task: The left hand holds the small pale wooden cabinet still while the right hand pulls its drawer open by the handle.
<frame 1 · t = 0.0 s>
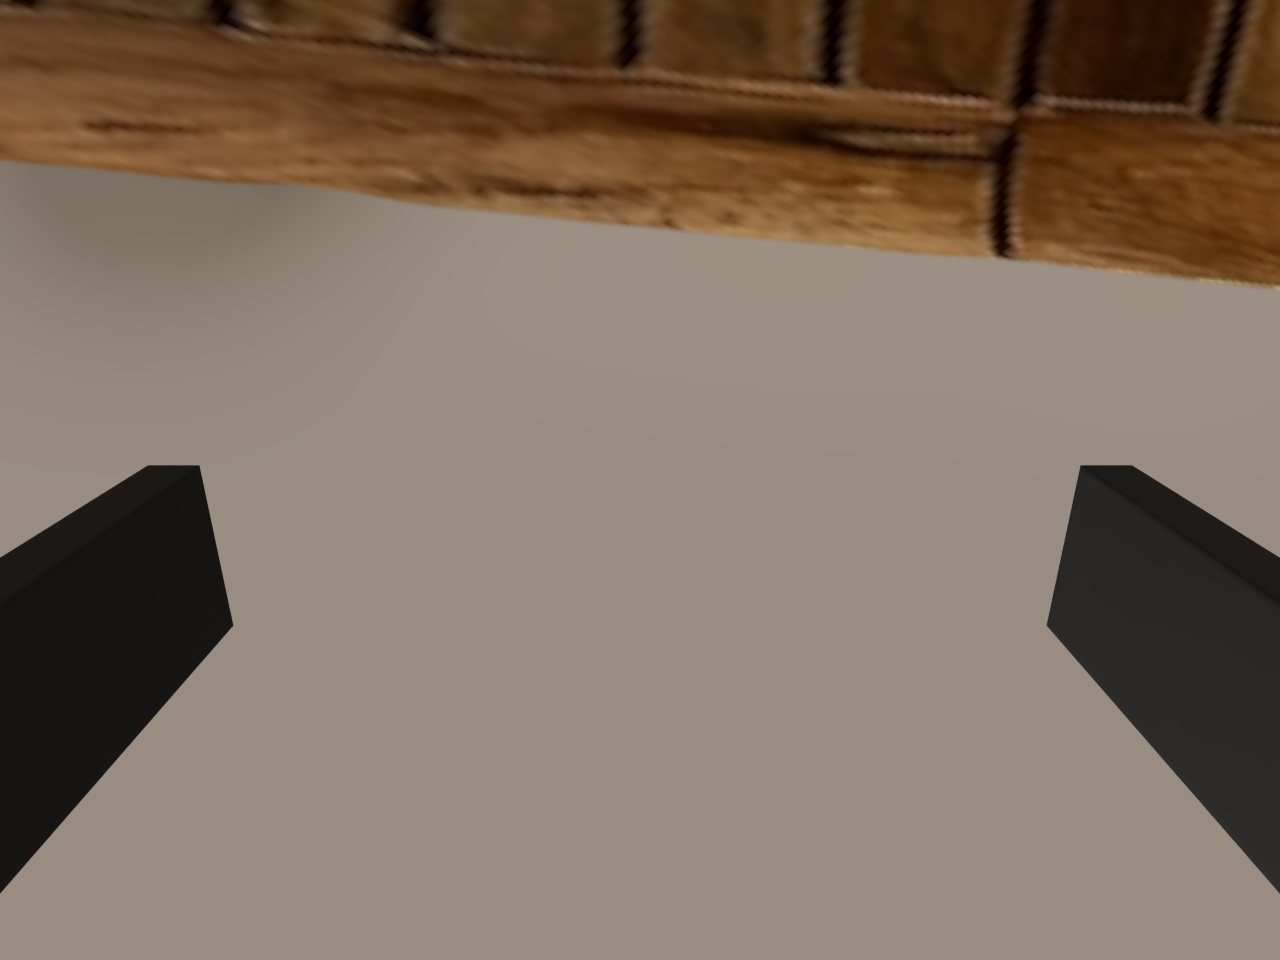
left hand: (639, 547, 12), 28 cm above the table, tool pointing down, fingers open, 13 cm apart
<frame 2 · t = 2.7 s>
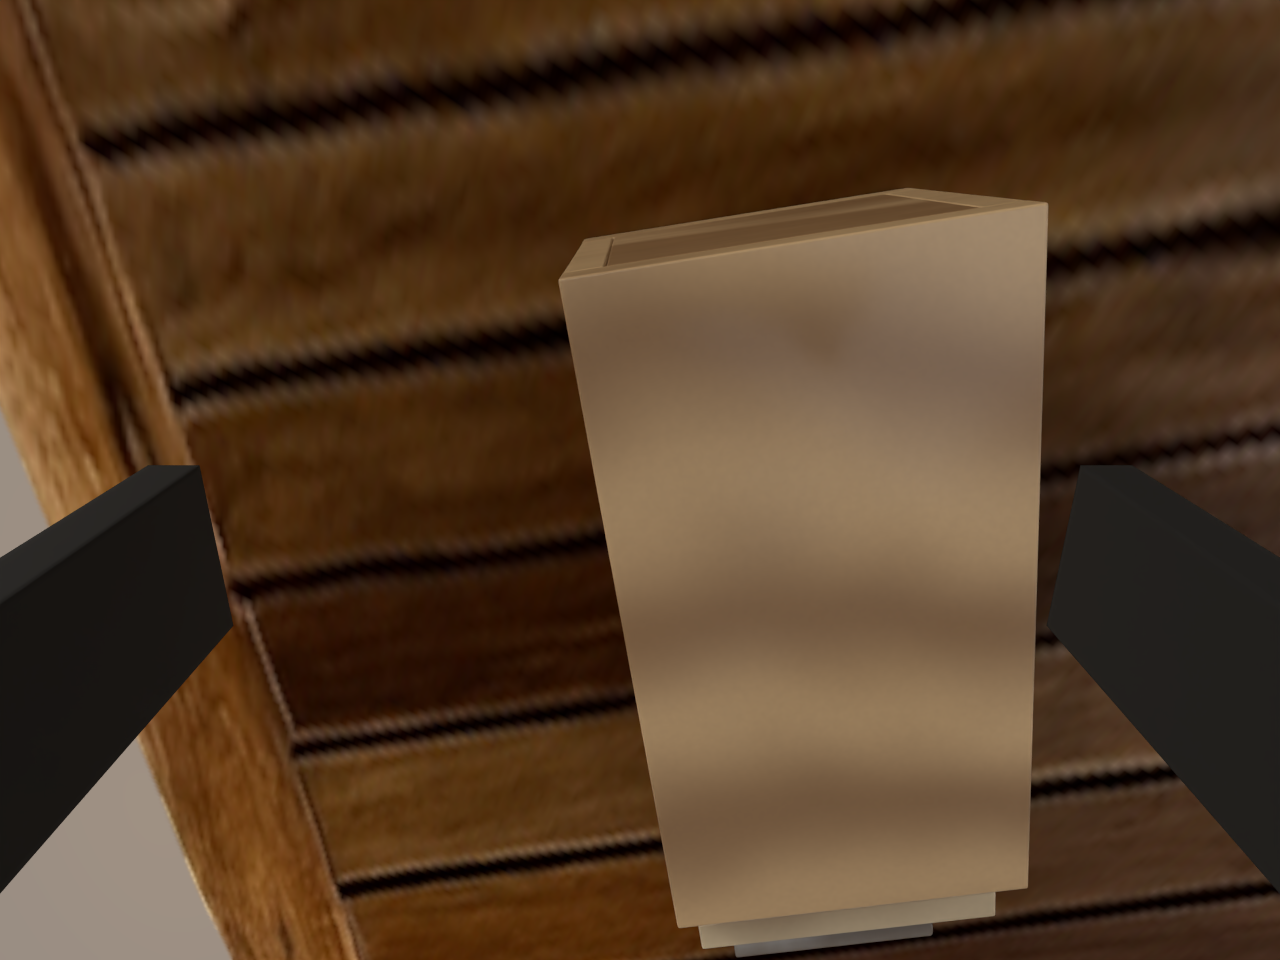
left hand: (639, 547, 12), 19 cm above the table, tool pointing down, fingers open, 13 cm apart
cabinet: (772, 491, 33), on the table
drawer: (809, 693, 30), point 5 cm above the table, slide at 1.2 cm
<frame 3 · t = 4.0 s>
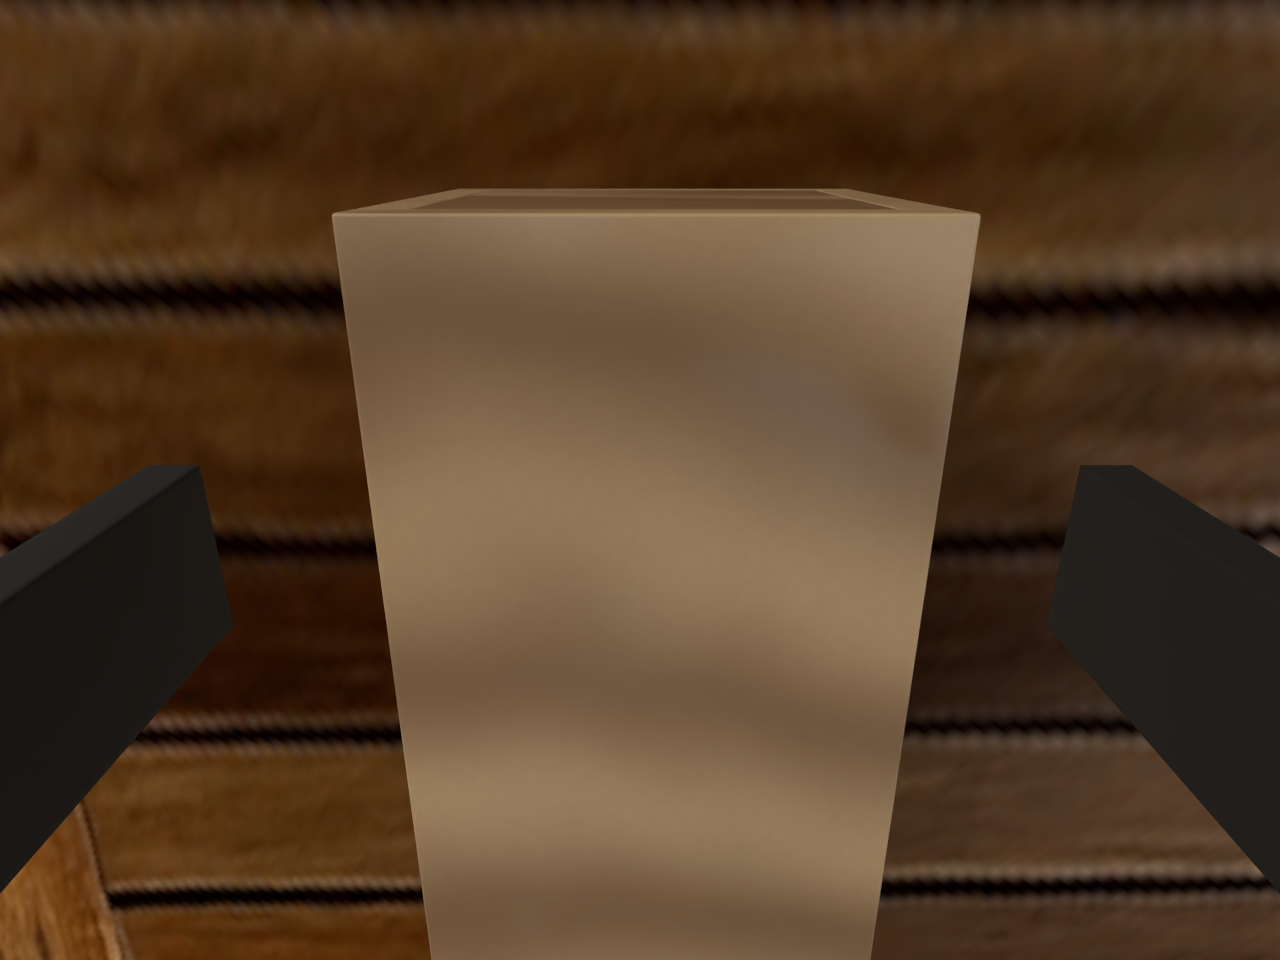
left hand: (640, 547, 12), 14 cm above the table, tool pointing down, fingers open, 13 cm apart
cabinet: (650, 519, 28), on the table
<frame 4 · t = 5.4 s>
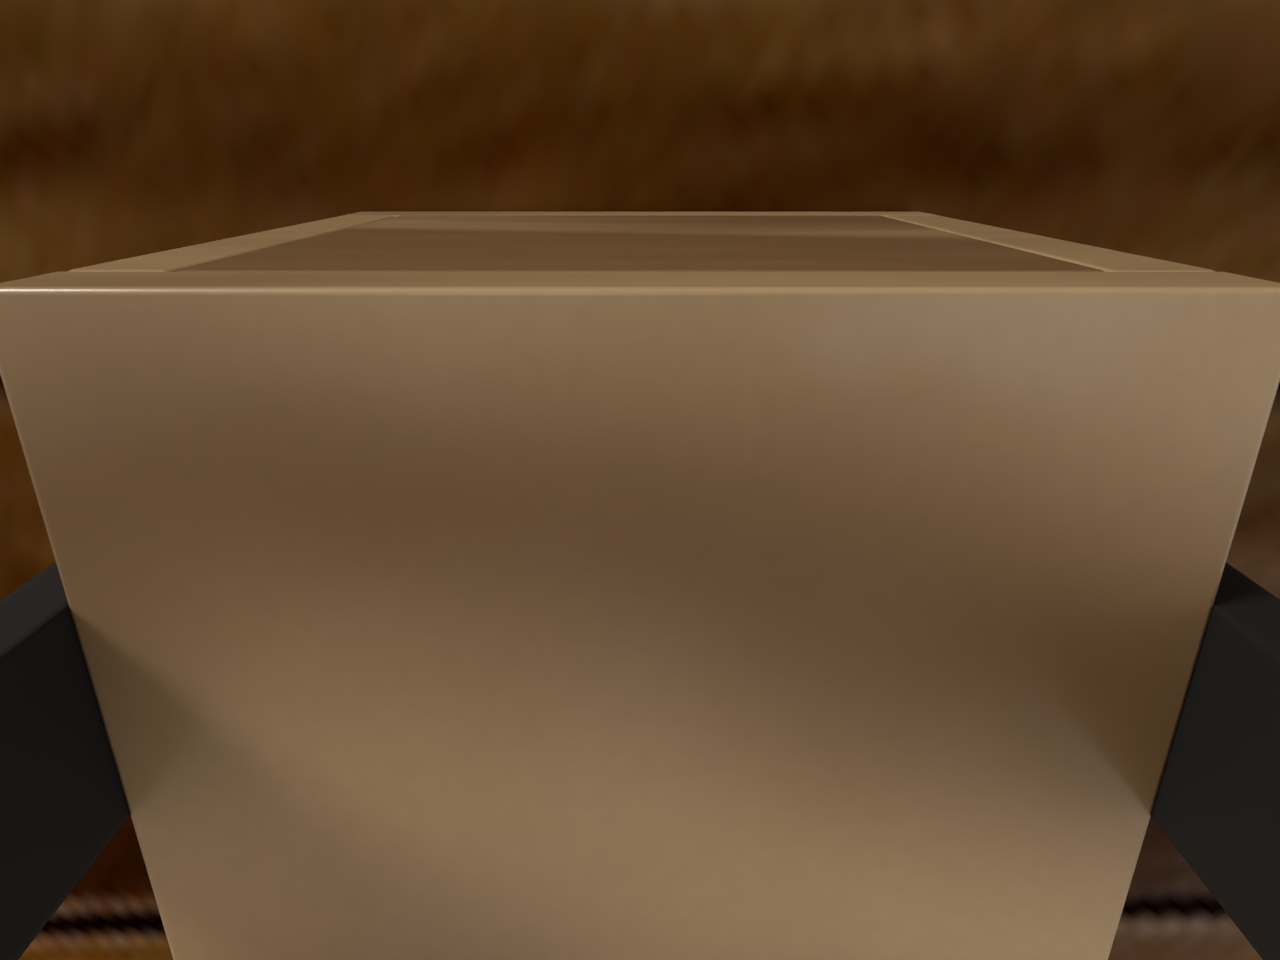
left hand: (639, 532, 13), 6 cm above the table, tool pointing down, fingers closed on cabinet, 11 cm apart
cabinet: (640, 656, 21), on the table, touching left hand
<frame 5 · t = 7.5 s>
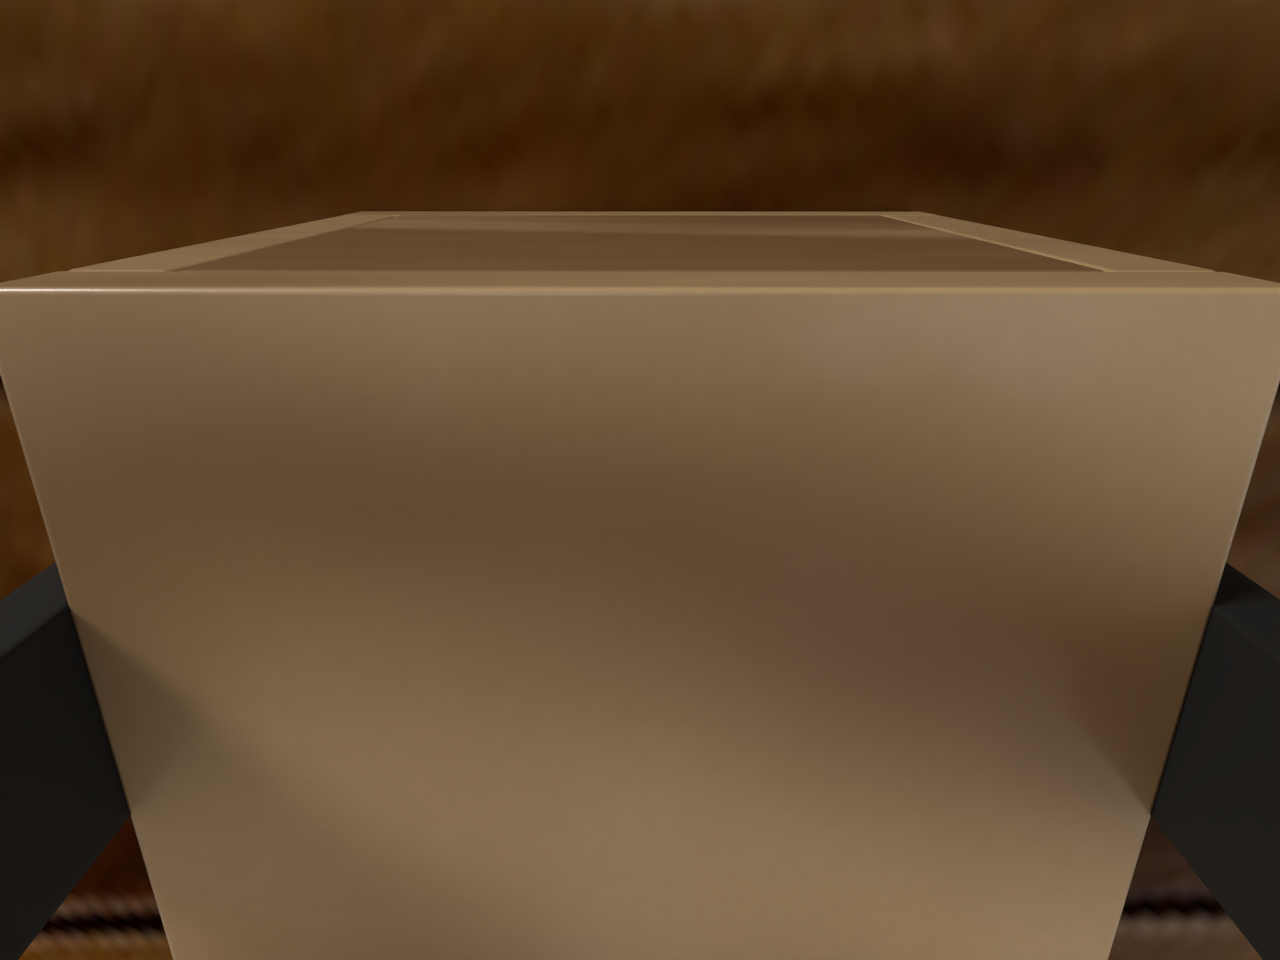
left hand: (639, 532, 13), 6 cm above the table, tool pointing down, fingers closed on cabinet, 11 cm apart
cabinet: (640, 656, 21), on the table, touching left hand
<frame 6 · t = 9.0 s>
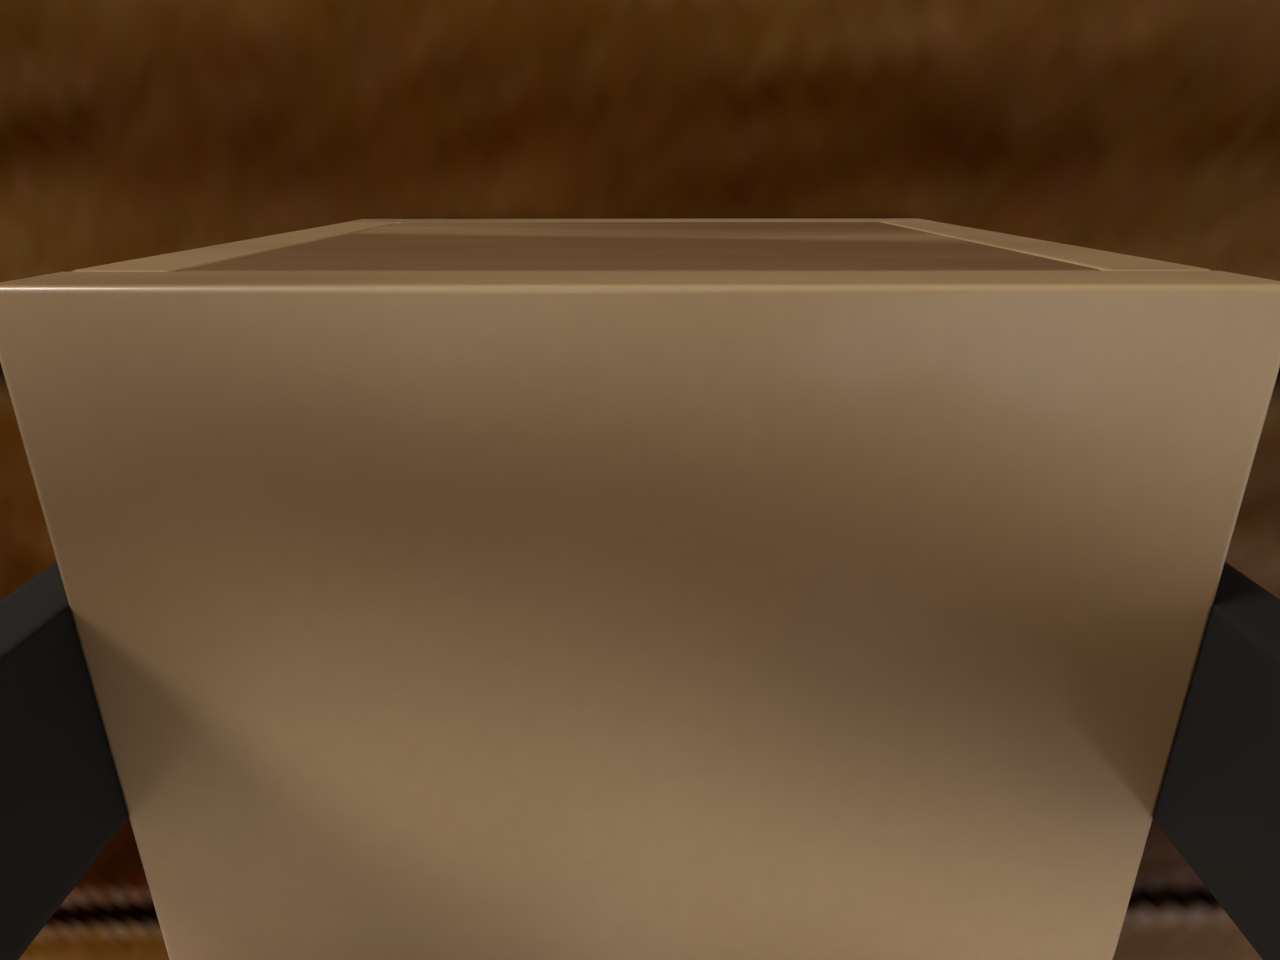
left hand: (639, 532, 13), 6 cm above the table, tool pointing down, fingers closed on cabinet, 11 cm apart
cabinet: (640, 663, 21), on the table, touching left hand
when the left hand's fingers open (6 cm above the table, at t = 10.2 s): cabinet stays where it is, on the table.
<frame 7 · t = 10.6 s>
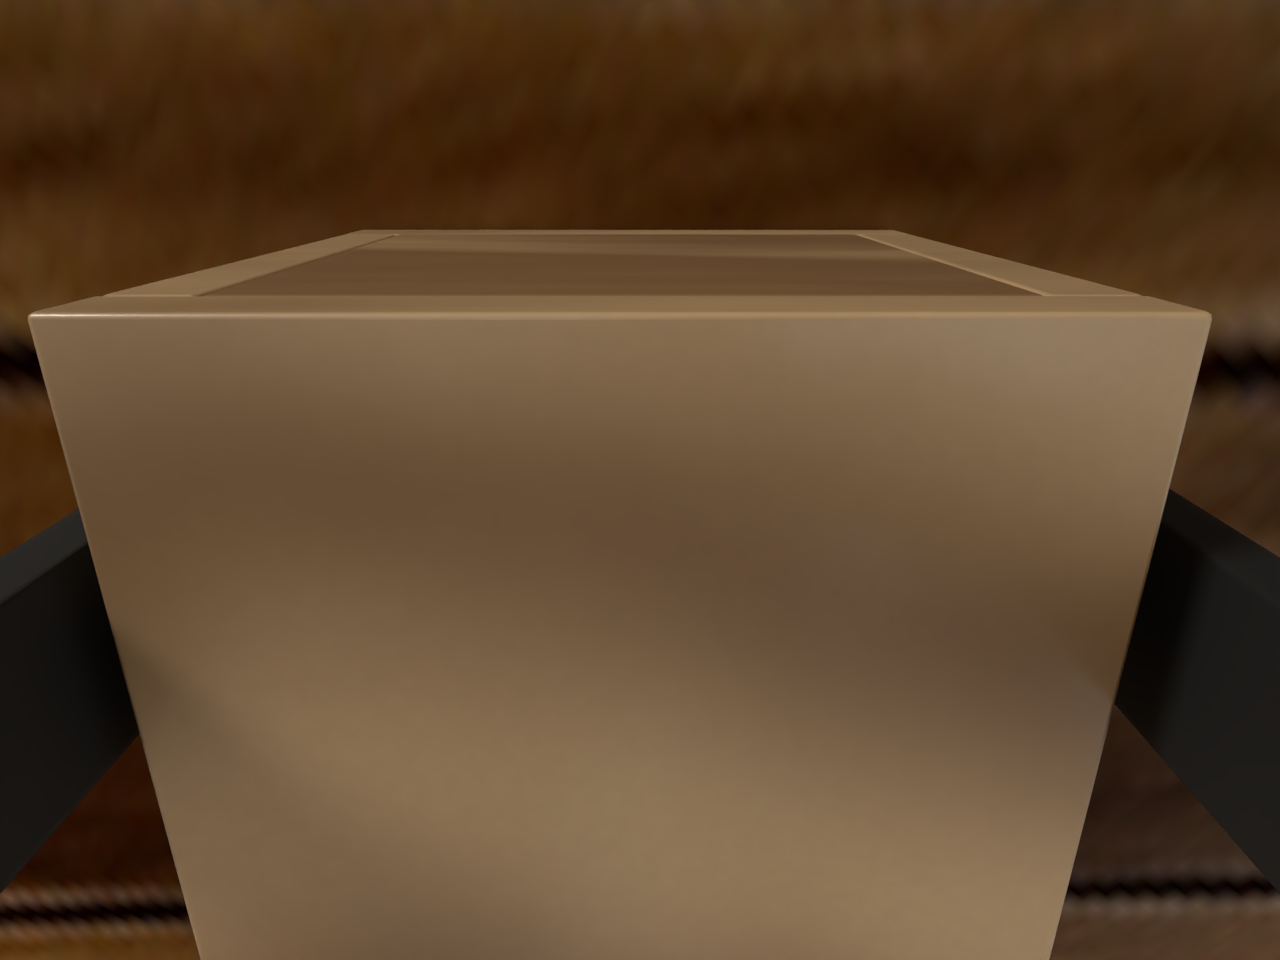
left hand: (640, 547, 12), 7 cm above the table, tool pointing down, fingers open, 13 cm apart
cabinet: (630, 654, 21), on the table
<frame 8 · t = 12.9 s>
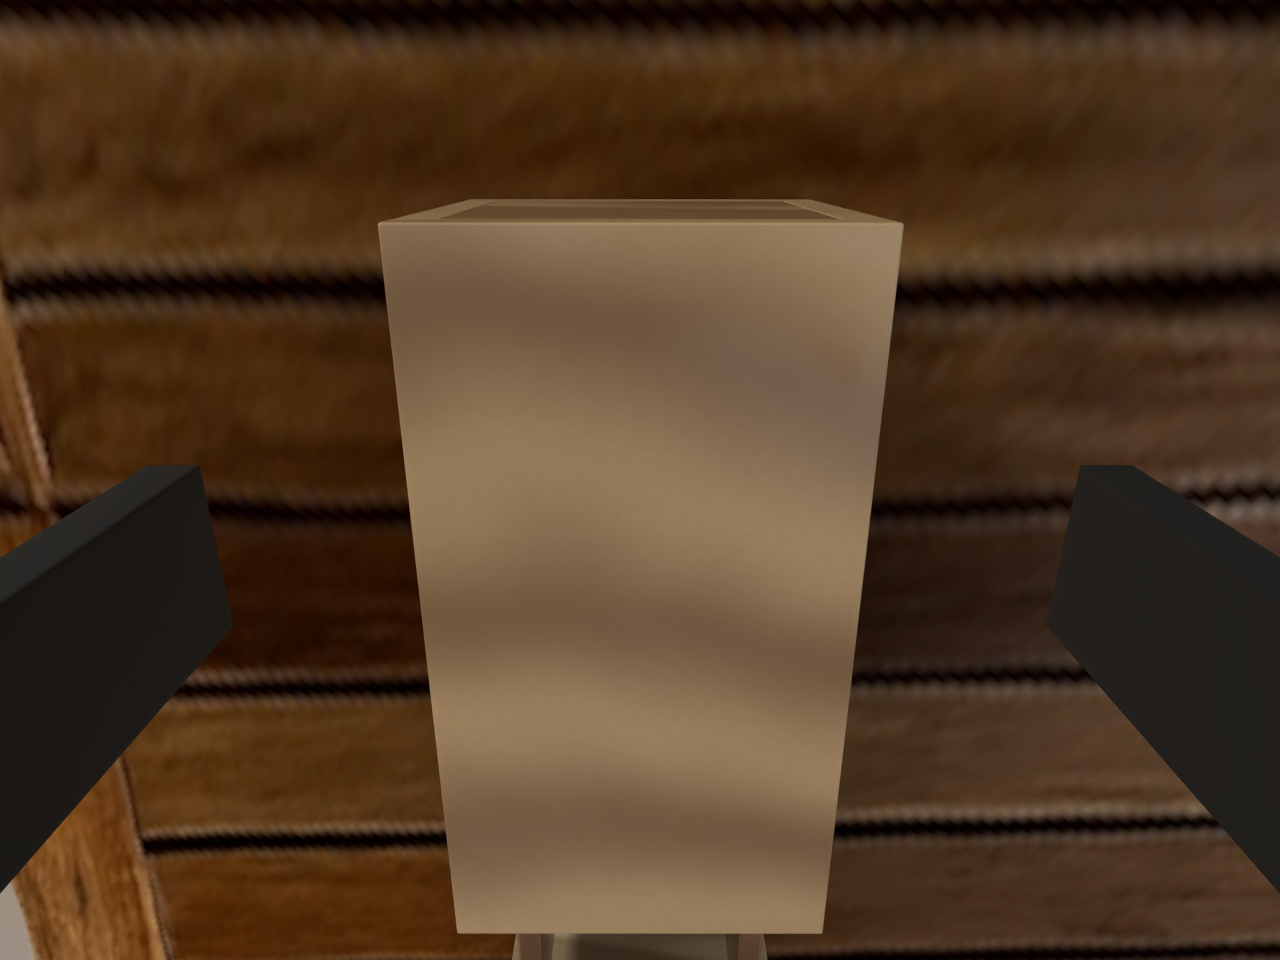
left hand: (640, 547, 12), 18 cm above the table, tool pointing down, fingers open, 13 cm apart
cabinet: (640, 493, 31), on the table
drawer: (639, 838, 31), point 5 cm above the table, slide at 7.3 cm
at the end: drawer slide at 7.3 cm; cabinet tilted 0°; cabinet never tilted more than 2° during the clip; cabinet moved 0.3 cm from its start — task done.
